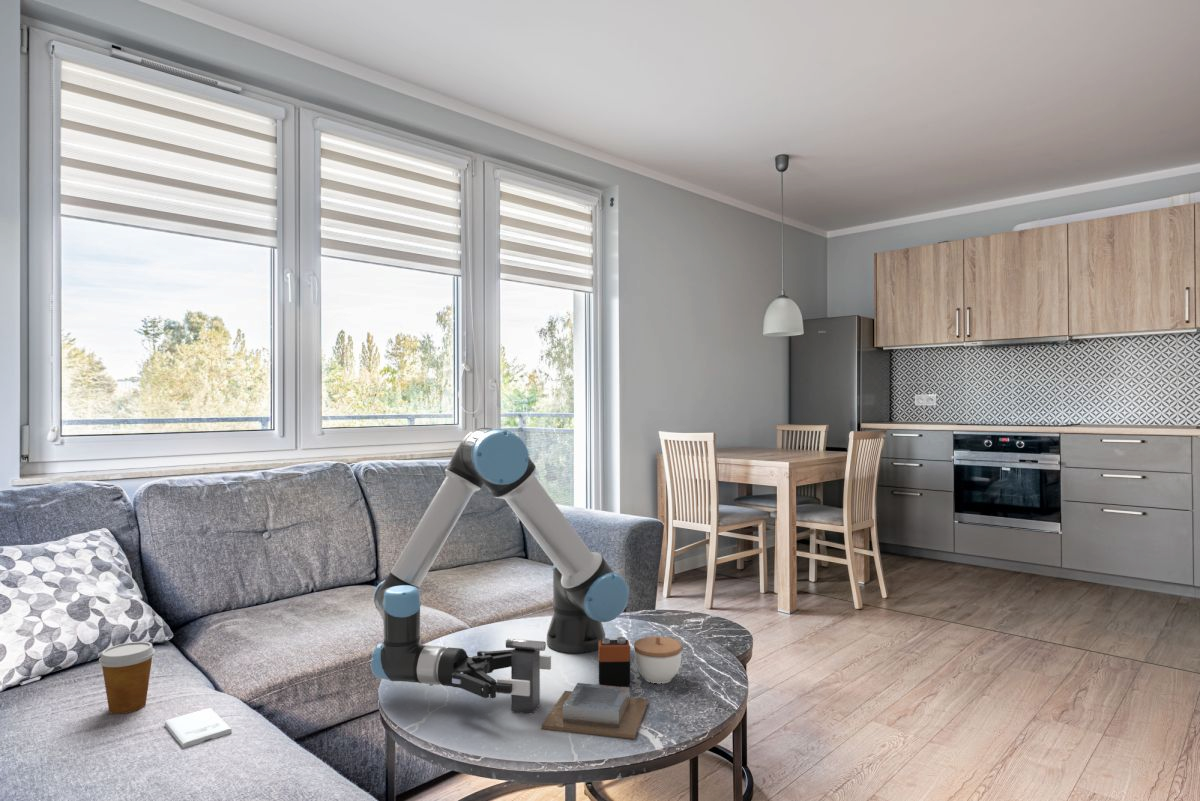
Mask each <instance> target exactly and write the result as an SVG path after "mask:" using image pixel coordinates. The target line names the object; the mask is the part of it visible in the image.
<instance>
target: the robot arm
mask: <svg viewBox="0 0 1200 801" xmlns="http://www.w3.org/2000/svg"><path fill="white" fill-rule="evenodd" d="M536 469H537V467H536V465H535V464H534V462H533V461H532V459H531V458H530V455H529V450H528V447H527V445H526V444H525V442H524V440H522V438H520V437H519V435H517V434H515V433H514V432H512V431H509V430H507V429H503V428H491V427H480V428H477V429H473V430H472V431H470V432H469V433H467V434H466V435H465V436H464V438H463V439H462V440H461V441H460V443H459V445H458V446H457V449H456V450H455V452H454V454H453V456H452V457H451V459H450V461H449V463H448V464H447V466H446V467H445V469H444V472H445V478H444V480H443V481H442V483H441V484H440V486H439V489H438V490H437V492H436V494H435V495H434V497H433V499H432V500H431V502H430V503H429V505H428V507H427V509H426V510H425V511H424V514H423V515H422V517H421V519H420V521H419V522H418V524H417V525H416V528H415V529H414V531H413V533H412V534H411V536H410V537H409V539H408V540H407V543H406V544H405V547H404V548H403V550H402V551H401V553H400V555H399V557H398V558H397V559H396V561H395V563H394V565H393V567H392V569H391V570H390V572H389V574H388V575H387V577H386V579H384V580H382V581H381V582H379V584H378V585H377V586H376V587H375V590H374V591H373V602H374V606H375V609H377V611H378V612H379V616H380V617H381V619H382V621H383V641H382V642H380V643H378V644H377V645H376V646H375V648H374V650H373V652H372V658H371V660H370V668H371V672H372V674H373V675H374V677H376V678H377V679H380V680H381V679H382V680H387V681H390V682H405V683H418V684H426V685H427V684H429V686H430V687H431V686H432V687H433V686H434V685H437V686H438V685H441V686H442V687H443V686H446V687H452V688H458V689H461V690H464V691H467V692H469V693H472V694H474V695H476V696H479V697H482V698H484V699H488V698H490V699H496V698H497V694H500V695H501V694H502V695H521V696H529V695H530V681H527V680H516V679H511V678H505V677H504V678H503V677H498V678H497V679H495V678H494V677H492V676H490V675H489V674H492V673H493V671H496V670H499V669H506V668H511V652H512V651H513V650H514V648H511V649H503V650H501V649H500V650H490V651H484V650H483V651H482V650H479V651H477V652H476V655H475V656H474V655H473V656H469V655H468V654H467V651H466V650H465V649H464V648H460V647H459V648H458V647H446V646H440V645H426V644H421V606H422V602H421V596H420V595H421V593H420V590H419V588H420V586H421V585H422V582H423V581H424V579H425V577H426V576H427V574H428V573H429V570H430V569H431V567H432V565H433V563H434V562H435V561H436V558H437V557H438V555H439V553H440V552H441V550H442V548H443V546H444V545H445V543H446V541H447V540H448V537H449V536H450V534H451V533H452V531H453V529H454V527H455V525H456V524H457V522H458V520H459V519H460V518H461V516H462V513H463V511H464V510H465V508H466V506H467V505H468V503H469V501H470V499H471V498H472V497H473V495H474V493H476V492H478V491H480V490H482V488H483V486H485V487H486V489H487V490H488V491H489V492H490V494H491V495H492V496H493V498H495V499H503V500H505V502H506V503H507V505H508V506H509V507H510V508H511V509H512V511H513V512H514V513H515V515H516V516H517V517H518V519H519V520H520V522H521V524H523V525H524V527H525V528H526V529H527V531H528V532H529V533H530V535H531V536H532V538H533V539H534V540H535V541H536V543H537V544H538V545H539V546H540V548H541V549H542V550H543V552H544V553H545V555H546V556H547V557H548V558H549V559H550V561H551V562H552V563H553V567H552V572H553V573H552V574H553V575H552V579H553V580H552V581H553V582H552V583H553V585H552V586H553V598H552V599H553V612H552V617H551V621H550V623H549V626H548V627H549V628H548V630H547V634H546V646H548V648H550V649H551V650H554V651H557V652H561V653H569V654H577V653H579V654H580V653H581V654H582V653H588V652H593V651H597V650H599V640H603V639H604V638H606V632H605V628H604V626H603V623H608V622H611V621H614V620H615V619H617V618H618V617H620V615H621V614H622V613H623V612H624V611H625V609H626V608H627V606H628V603H629V598H630V588H629V585H628V583H627V581H626V580H625V579H624V578H623V577H622V576H621V575H620V574H618V573H617V572H615V571H614V570H613V569H612V567H611V566H610V565H609V564H608V563H607V561H606V560H605V559H604V557H603V556H602V555H601V553H599V552H597V551H591V550H590V548H588V546H587V545H586V544H585V542H584V541H583V540H582V537H581V536H580V535H579V534H578V532H577V531H576V530H575V528H574V527H573V526H572V525H571V523H570V522H569V521H568V519H567V517H565V515H564V514H563V513H562V511H561V510H560V509H559V507H558V505H556V503H555V502H554V500H553V499H552V497H551V496H550V495H549V494H548V492H547V491H546V489H545V488H544V487H543V486H542V484H541V483H540V482H539V480H538V479H537V477H536V476H535V474H536ZM551 669H552V655H547V654H546V655H545V654H544V655H543V654H540V670H548V671H549V670H551Z"/></svg>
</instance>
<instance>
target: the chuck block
mask: <svg viewBox="0 0 1200 801" xmlns="http://www.w3.org/2000/svg"><path fill="white" fill-rule="evenodd" d="M630 690H631V689H630V687H617V686H606V685H599V684H596V683H594V684H593V683H583V682H577V683H576V684H575V687H574V688H573V689H572V691H571V690H564V692H563V693H562V694H561V696H560V697H559V699H558V700H557V702H555V705H554V706H553V707H552V709H551V710H550V712H549V713H548V715H547V716H546V718H545V719H544V721H543V722H542V724H541V730H548V731H549V730H550V731H557V732H566V733H576V734H583V735H584V734H586V735H592V734H593V736H601V737H602V736H604V737H612V738H619V739H620V738H621V739H629V740H635V739H636V736H637V733H638V732H639V728H640V726H641V723H642V721H643V719H642V718H644V716H645V713H646V710H647V708H648V706H649V700H650V699H649V698H642V697H632V696H630ZM647 705H648V706H647Z"/></svg>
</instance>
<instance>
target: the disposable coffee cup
mask: <svg viewBox="0 0 1200 801" xmlns="http://www.w3.org/2000/svg"><path fill="white" fill-rule="evenodd" d="M153 647H154V646H153V643H151V642H149V641H132V642H131V641H130V642H125V643H120V644H117V645H113V646H110V647H108V648H106V649H104V650H103V651H102V652H101V656H100V657H99V659H98V662H99V663H100V666H101V668H102V674H103V681H104V687H105V694H106V699H107V707H108V712H109V713H110V714H114V715H120V714H128V713H131V712H135V711H138V710H140V709H142V708H143V707H146V706H145V705H147V698H148V697H147V696H148V691H149V690H148V688H149V683H150V675H151V668H152V661H153V656H154V654H155V653H156V649H155V648H153Z"/></svg>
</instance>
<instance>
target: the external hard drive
mask: <svg viewBox="0 0 1200 801" xmlns="http://www.w3.org/2000/svg"><path fill="white" fill-rule="evenodd" d="M164 727H165V728H166V729H167V731H169V733H170V734H171V735H172V736H173V738H174V739H175V740H176V741H177V743H178V744H179V745H180V747H181V748H182V749H185V748H188V747H192V746H195V745H197V744H201V743H204V742H205V741H209V740H214V739H217V738H221V737H223V736H226V735H229V734H232V728H231V726H229V724H227V723H226V722H225V720H224V719H223V718H222V717H220V716H219V715H218V713H217V712H215V711H214V710H213V708H211V707H208V708H204V709H200V710H197V711H193V712H190V713H186V714H183V715H180V716H176V717H173V718H169V719H166V720H165V721H164Z"/></svg>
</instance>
